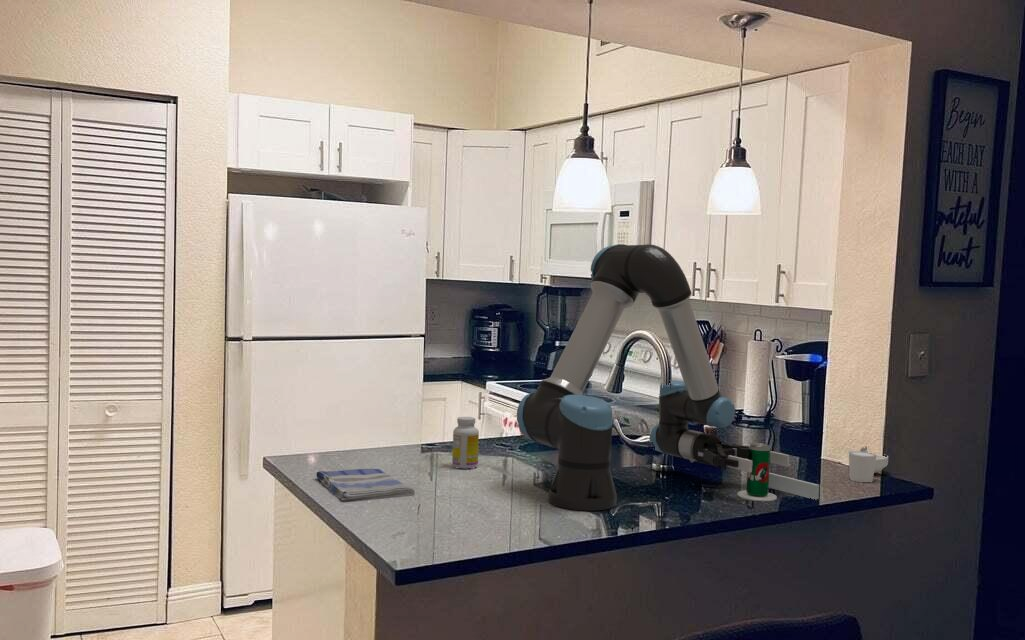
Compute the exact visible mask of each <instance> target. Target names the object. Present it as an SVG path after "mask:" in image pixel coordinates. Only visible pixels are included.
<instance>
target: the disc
mask: <svg viewBox="0 0 1025 640" xmlns="http://www.w3.org/2000/svg"><path fill="white" fill-rule="evenodd" d="M737 497H739V498H741V499H744V500H749V501H754V502H765V503H766V502H773V501H774V502H775V501H777V500H778V499H777V497H778V496H777V495H776V494H774V493H772V492H768V495H767V496H765V497H755V496H751V495H749V494H748V493H747V492H746V489H745V490H740V491H738V492H737Z"/></svg>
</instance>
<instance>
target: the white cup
mask: <svg viewBox="0 0 1025 640" xmlns="http://www.w3.org/2000/svg"><path fill="white" fill-rule="evenodd" d="M848 452H849V451H848ZM876 456H877V455H875V454H872V453H867V452H849V453H848V461H849V462H848V466H849V467H848V469H849V470H848V471H849V480H850V481H852V482H855V481H856V483H862V482H871V483H873V482H872V481H874V474H875V473H874V469H875V463H876Z"/></svg>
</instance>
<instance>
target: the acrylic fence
mask: <svg viewBox="0 0 1025 640" xmlns="http://www.w3.org/2000/svg"><path fill="white" fill-rule="evenodd" d="M769 489H773V490H777V491H780V492H784V493H787V494H791V495H795V496H798V497H799V496H800V497H803V498H806V499H810V498H811V500H814V499H815V500H814V501H818V500H819V497H820V484H818V483H813V482H809V481H805V480H800V479H797V478H793V477H789V476H784V475H780V474H777V473H772V472H769ZM817 499H818V500H817Z"/></svg>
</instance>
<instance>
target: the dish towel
mask: <svg viewBox="0 0 1025 640" xmlns="http://www.w3.org/2000/svg"><path fill="white" fill-rule="evenodd" d="M315 476H316V478H317V479H318V480H319V481H320V482H321V483H322V484H323V485H322V486H324V487H326V488H327V489H328V491H330V493H331V494H333V495H334V496H336V497H337V498H338V499H339V500H340V501H341V502H356V501H357V502H358V501H366V500H367V501H368V500H377V499H389V498H400V497H410V496H414V495H415V493H416V492H415V489H414V488H413V487H412V486H409V485H406V484H405V483H403V482H401V481H400V480H398V479H396V478H394V476H391V475H389V474H387V473H386V472H384V471H383V470H382V469H380V468H358V469H354V468H353V469H344V470H333V471H323V470H320V471H317V472H316V475H315Z"/></svg>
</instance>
